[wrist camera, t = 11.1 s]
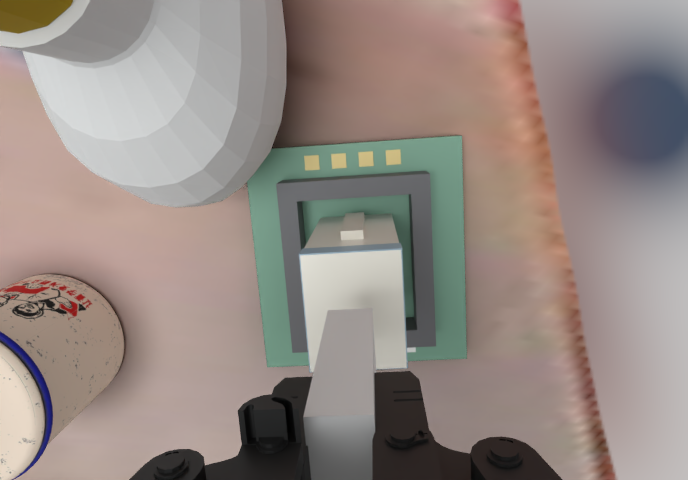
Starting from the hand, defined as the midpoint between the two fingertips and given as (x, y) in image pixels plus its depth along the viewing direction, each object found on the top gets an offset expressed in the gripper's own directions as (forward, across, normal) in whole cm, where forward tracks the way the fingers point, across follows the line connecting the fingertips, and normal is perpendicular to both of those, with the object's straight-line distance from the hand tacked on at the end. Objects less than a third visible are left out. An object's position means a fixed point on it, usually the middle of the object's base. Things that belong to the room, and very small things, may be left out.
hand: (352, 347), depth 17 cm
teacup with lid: (+14, +21, +5) cm, 26 cm away
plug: (+13, 0, 0) cm, 13 cm away
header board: (+14, 0, 0) cm, 14 cm away
